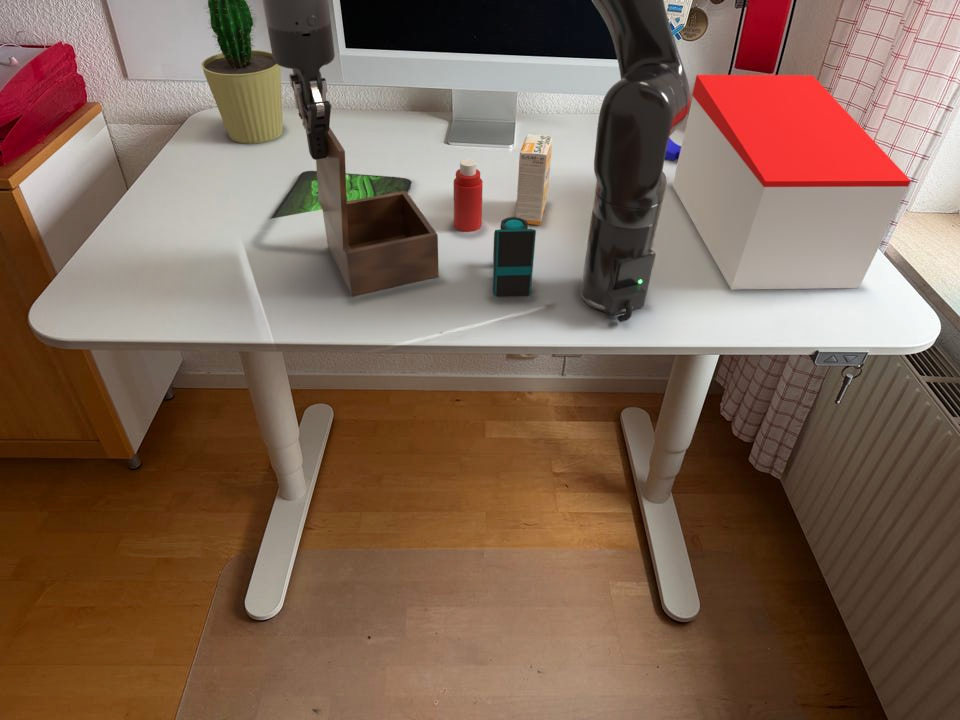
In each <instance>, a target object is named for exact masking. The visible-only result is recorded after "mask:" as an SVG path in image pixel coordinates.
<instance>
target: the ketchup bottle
mask: <svg viewBox="0 0 960 720" xmlns="http://www.w3.org/2000/svg"><path fill="white" fill-rule="evenodd" d="M483 182H484V181H483V179H482V178H481V172H480V170H479V169H478V168H477V161H476V160H475V159H471V158H465V159H461V160H460V162H459V168H458V169H457V170H456V171H455V178H454V179H453V227H454V228H455V229H456V230H457V231H459V232H463V233H473V232H476V231H478V230H480V229H481V228H482V224H483V223H482V221H483V187H484V186H483Z"/></svg>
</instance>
